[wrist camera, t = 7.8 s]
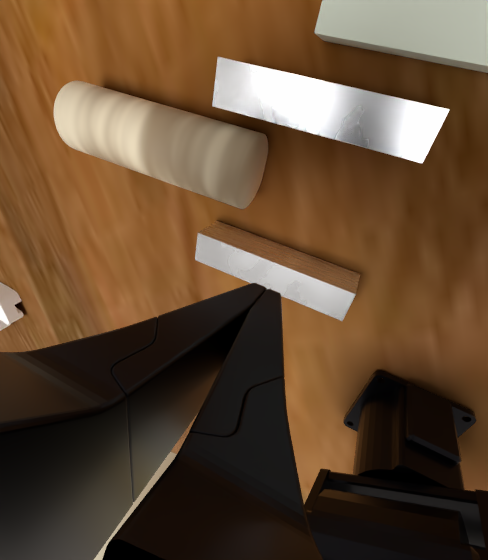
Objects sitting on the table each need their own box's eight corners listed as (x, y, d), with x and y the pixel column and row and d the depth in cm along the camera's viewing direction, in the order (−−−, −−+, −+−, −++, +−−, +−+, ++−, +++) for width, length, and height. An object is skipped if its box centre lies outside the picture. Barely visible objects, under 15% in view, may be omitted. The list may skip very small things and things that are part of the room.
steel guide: (347, 299, 20) (342, 321, 18) (213, 245, 22) (194, 259, 20) (441, 108, 13) (449, 109, 11) (240, 62, 16) (217, 56, 14)
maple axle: (273, 148, 18) (257, 120, 14) (250, 213, 19) (228, 203, 15) (112, 100, 21) (62, 65, 17) (97, 158, 22) (46, 137, 18)
